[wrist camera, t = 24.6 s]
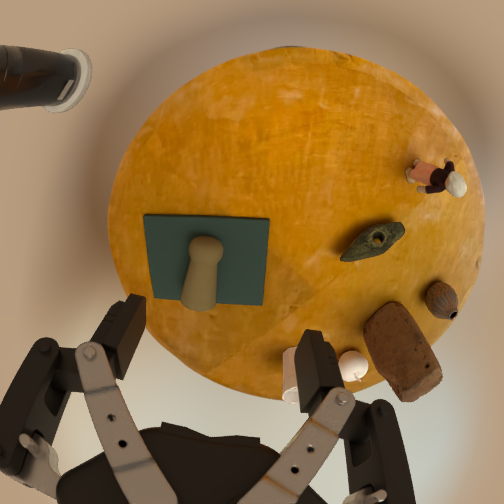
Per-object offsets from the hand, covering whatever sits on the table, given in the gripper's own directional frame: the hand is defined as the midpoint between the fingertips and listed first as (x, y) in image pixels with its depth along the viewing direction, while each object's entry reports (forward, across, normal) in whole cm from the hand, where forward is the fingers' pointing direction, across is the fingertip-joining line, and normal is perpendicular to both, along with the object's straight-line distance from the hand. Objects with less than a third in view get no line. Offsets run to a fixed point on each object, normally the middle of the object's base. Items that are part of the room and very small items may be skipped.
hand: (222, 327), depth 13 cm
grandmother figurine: (+30, -26, -11) cm, 42 cm away
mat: (+30, +4, +14) cm, 33 cm away
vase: (+30, -44, +11) cm, 54 cm away
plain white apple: (+30, -31, +31) cm, 53 cm away
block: (+30, -34, +19) cm, 49 cm away
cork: (+26, +4, +19) cm, 33 cm away
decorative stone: (+30, -22, +3) cm, 38 cm away
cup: (+30, -18, +32) cm, 48 cm away
